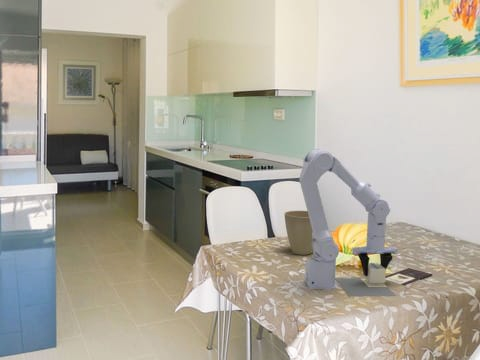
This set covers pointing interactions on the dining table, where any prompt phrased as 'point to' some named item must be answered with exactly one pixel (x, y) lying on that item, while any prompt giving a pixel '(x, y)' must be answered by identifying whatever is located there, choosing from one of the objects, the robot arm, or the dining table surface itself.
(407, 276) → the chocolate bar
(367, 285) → the mat
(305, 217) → the plant pot
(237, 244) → the dining table surface
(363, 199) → the robot arm
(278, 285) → the dining table surface
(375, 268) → the card deck box
